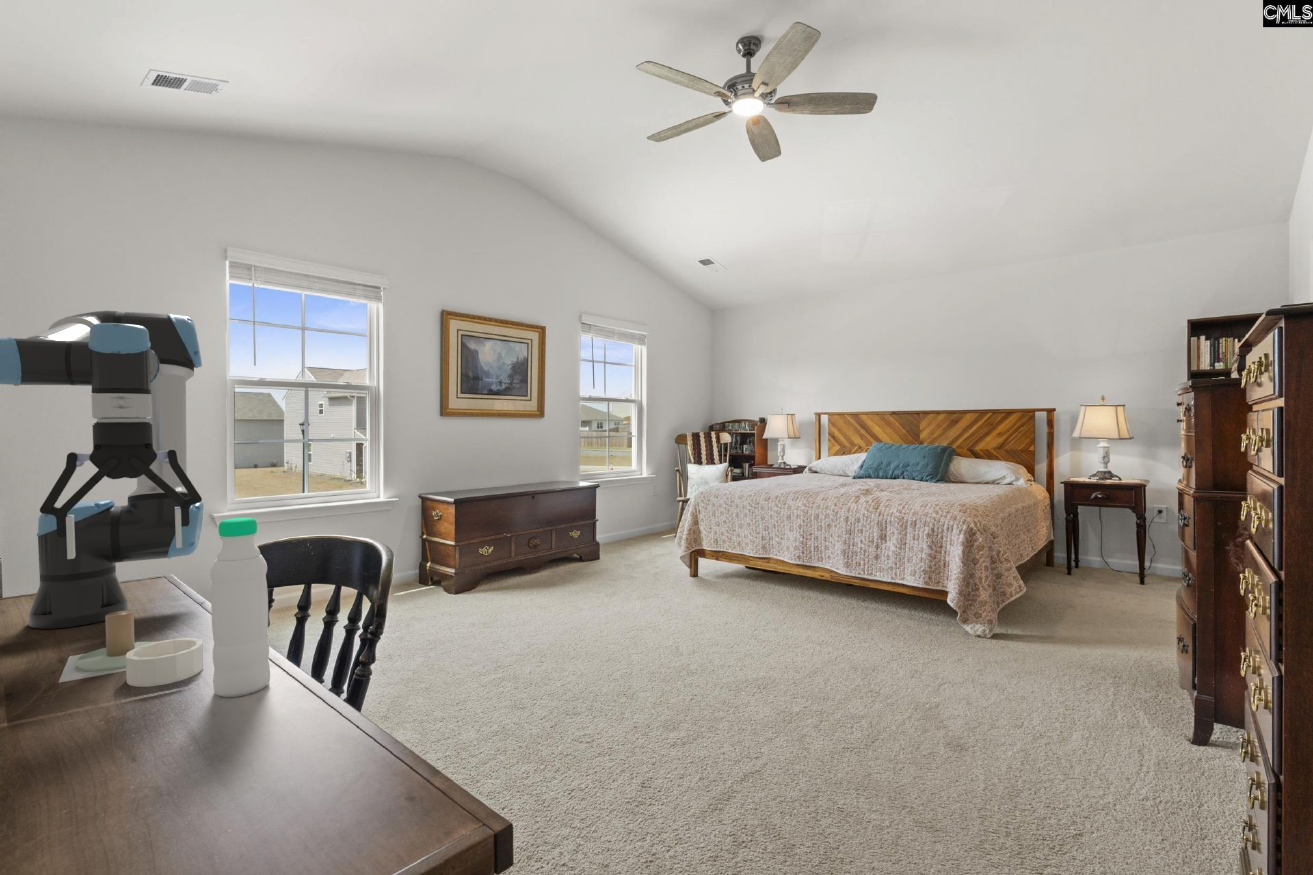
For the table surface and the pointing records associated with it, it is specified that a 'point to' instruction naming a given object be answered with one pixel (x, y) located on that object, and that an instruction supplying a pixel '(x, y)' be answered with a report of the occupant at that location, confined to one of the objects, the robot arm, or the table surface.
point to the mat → (74, 674)
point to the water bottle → (239, 612)
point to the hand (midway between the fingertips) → (127, 551)
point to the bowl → (164, 662)
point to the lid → (112, 644)
